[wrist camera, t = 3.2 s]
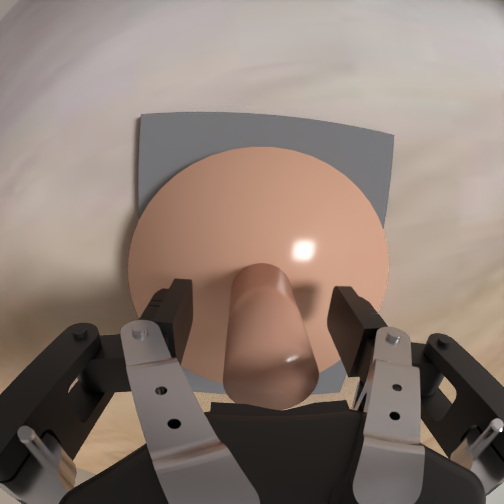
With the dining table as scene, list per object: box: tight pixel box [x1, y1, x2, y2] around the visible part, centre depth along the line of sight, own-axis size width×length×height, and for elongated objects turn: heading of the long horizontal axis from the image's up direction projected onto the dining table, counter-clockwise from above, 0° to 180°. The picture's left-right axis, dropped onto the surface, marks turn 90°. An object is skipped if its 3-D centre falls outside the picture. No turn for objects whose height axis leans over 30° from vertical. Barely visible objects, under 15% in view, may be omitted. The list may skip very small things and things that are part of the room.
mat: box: [138, 112, 394, 394], centre depth 14 cm, size 16×12×1 cm
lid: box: [128, 147, 389, 410], centre depth 11 cm, size 13×13×7 cm
